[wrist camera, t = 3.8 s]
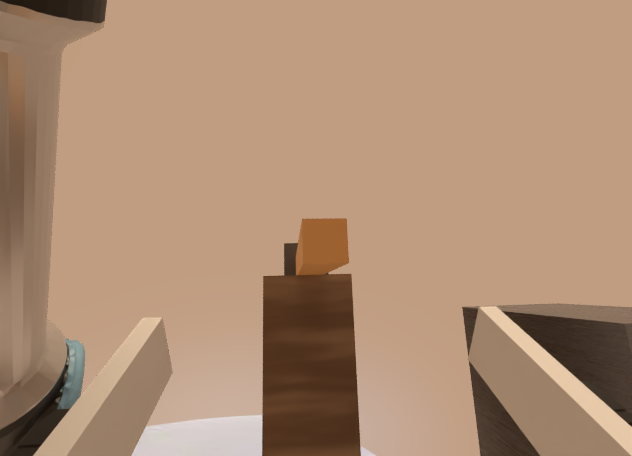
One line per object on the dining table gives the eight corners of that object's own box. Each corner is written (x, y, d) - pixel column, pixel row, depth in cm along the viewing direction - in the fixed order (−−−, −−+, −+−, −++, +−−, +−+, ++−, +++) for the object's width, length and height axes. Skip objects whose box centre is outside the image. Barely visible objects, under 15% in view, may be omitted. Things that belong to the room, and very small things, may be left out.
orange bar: (372, 262, 16) (368, 190, 17) (277, 264, 15) (277, 190, 16) (323, 279, 39) (322, 248, 40) (285, 280, 39) (284, 249, 40)
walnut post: (371, 659, 22) (351, 273, 28) (261, 672, 22) (263, 276, 27) (345, 531, 34) (335, 278, 39) (273, 537, 33) (273, 280, 39)
